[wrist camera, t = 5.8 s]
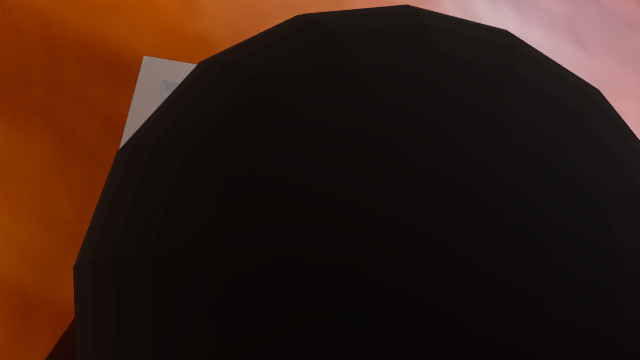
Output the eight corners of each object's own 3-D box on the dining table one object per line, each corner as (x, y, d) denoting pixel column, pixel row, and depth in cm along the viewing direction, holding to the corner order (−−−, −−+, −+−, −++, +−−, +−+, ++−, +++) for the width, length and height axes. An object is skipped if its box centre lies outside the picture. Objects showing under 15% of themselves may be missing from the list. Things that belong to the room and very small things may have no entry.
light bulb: (208, 195, 15) (21, -189, 4) (420, 205, 16) (803, -107, 4) (186, 435, 13) (-308, 1074, 2) (428, 436, 14) (1143, 938, 3)
